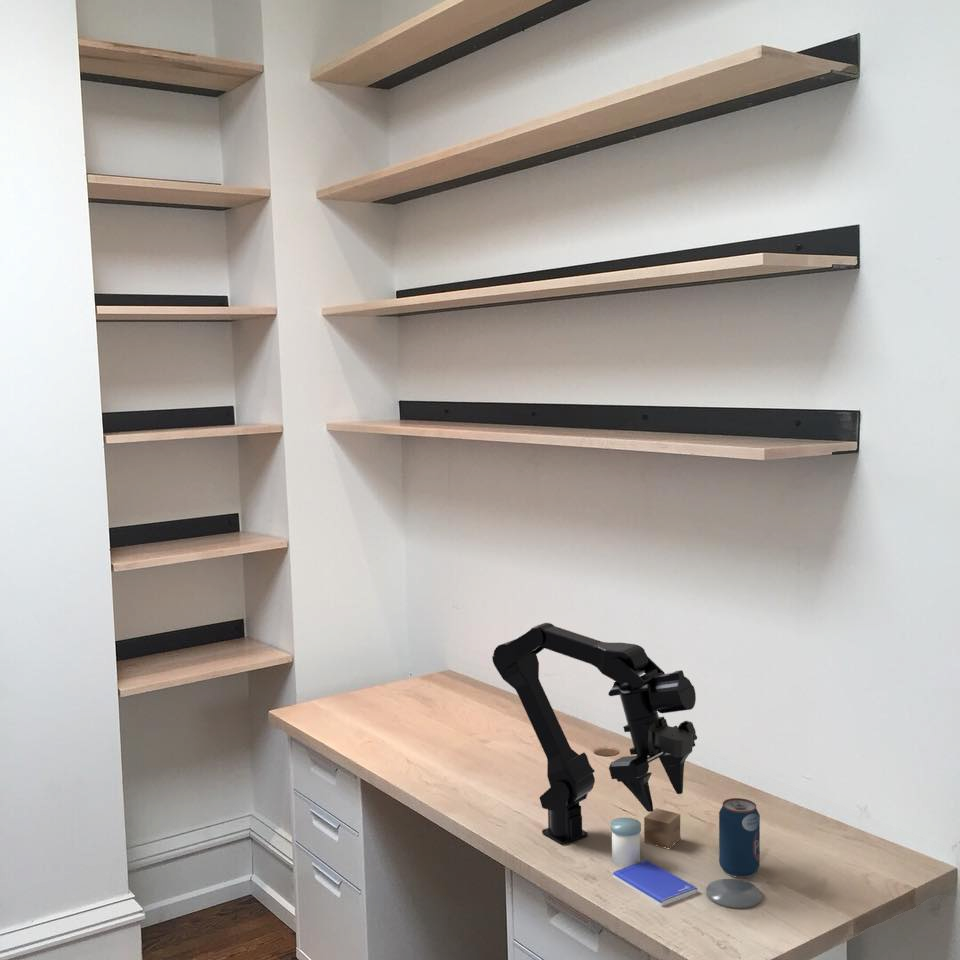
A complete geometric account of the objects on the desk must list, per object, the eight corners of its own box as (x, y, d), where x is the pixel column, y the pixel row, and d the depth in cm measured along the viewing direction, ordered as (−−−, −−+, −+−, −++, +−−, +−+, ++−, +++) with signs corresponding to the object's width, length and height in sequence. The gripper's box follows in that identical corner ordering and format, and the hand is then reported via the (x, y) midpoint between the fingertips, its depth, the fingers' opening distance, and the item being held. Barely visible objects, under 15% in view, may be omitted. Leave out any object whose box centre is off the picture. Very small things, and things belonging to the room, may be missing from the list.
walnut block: (644, 843, 194) (644, 817, 194) (656, 833, 199) (656, 808, 198) (668, 849, 192) (668, 823, 191) (680, 839, 196) (680, 814, 195)
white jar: (604, 859, 188) (604, 822, 187) (627, 851, 191) (626, 815, 190) (625, 871, 184) (624, 832, 183) (647, 862, 187) (647, 825, 186)
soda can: (765, 878, 180) (765, 811, 179) (726, 880, 179) (726, 813, 178) (751, 859, 187) (751, 795, 185) (713, 862, 186) (713, 797, 185)
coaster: (695, 892, 175) (695, 889, 175) (731, 877, 180) (731, 873, 180) (736, 914, 168) (736, 910, 168) (773, 897, 173) (773, 894, 173)
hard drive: (697, 886, 175) (648, 859, 186) (661, 900, 171) (612, 871, 181) (697, 895, 175) (648, 867, 186) (661, 909, 171) (612, 880, 182)
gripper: (647, 728, 173) (672, 820, 172) (707, 697, 187) (731, 783, 185) (597, 732, 181) (620, 821, 180) (658, 703, 195) (680, 785, 193)
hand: (665, 802), depth 184 cm, fingers open, 9 cm apart
